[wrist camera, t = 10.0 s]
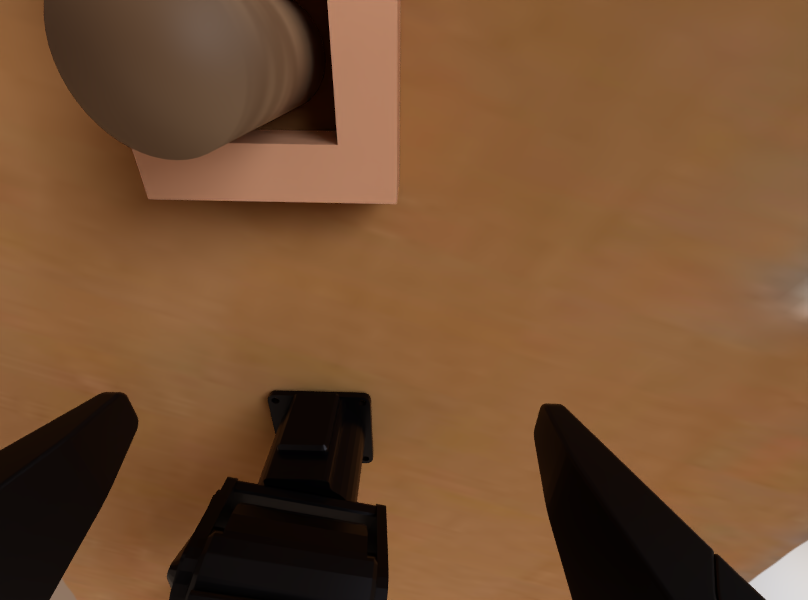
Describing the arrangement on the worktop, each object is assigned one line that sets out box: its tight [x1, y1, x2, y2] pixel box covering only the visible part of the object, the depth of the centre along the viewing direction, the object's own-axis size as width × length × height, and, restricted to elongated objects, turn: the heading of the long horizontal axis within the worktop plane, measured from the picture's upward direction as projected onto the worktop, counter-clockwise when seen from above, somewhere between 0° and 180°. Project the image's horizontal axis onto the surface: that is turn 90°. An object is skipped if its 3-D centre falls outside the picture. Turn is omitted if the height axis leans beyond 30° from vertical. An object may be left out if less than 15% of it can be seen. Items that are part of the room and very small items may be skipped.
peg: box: [44, 0, 325, 160], centre depth 12 cm, size 4×4×9 cm
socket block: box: [132, 0, 400, 204], centre depth 15 cm, size 10×10×3 cm
